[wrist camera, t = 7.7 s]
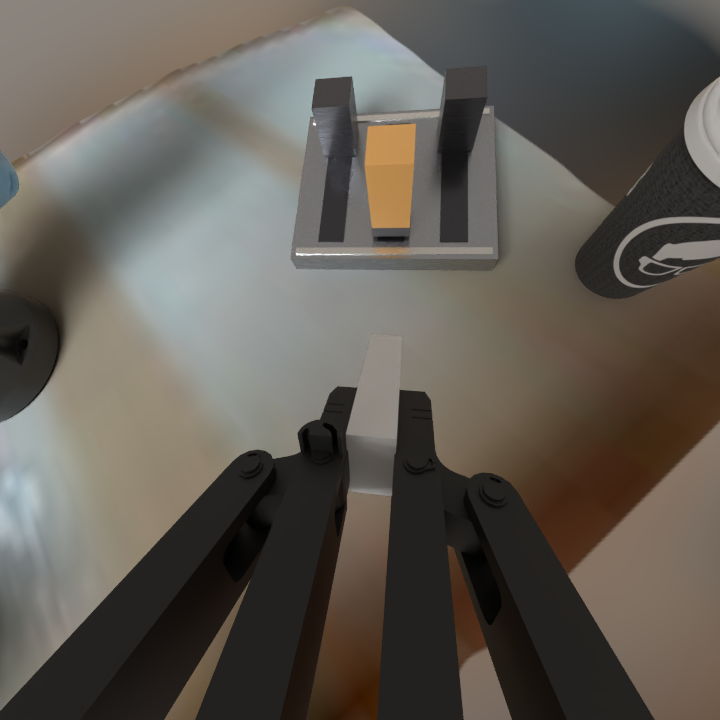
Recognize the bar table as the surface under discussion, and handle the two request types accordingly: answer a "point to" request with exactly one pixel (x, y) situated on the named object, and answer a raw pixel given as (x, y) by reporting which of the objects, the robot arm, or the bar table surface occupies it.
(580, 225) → the bar table surface
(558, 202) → the bar table surface
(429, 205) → the panel
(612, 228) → the coffee cup
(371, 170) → the breaker handle
